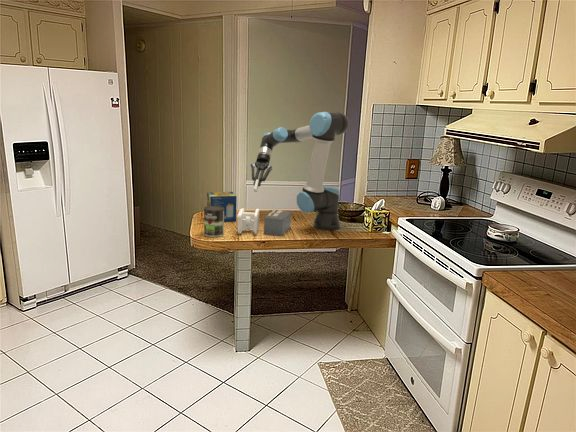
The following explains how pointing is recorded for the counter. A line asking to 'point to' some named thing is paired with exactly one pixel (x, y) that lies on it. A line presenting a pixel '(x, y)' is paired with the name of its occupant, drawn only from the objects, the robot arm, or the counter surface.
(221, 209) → the coffee can
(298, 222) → the counter surface
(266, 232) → the grey box
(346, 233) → the counter surface
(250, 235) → the counter surface
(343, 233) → the counter surface
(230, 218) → the protein box
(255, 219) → the cable organizer
